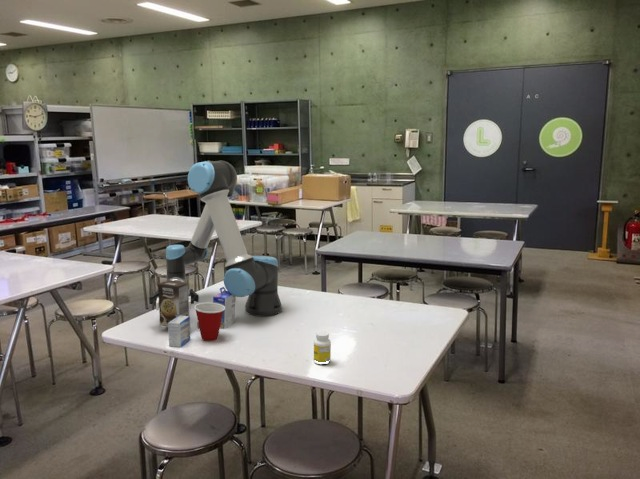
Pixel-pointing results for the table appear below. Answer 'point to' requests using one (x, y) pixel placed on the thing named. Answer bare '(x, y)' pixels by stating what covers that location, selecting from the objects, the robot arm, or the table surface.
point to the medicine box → (179, 331)
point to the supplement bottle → (322, 347)
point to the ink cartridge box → (226, 307)
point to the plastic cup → (209, 319)
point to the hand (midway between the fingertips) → (173, 305)
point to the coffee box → (173, 301)
